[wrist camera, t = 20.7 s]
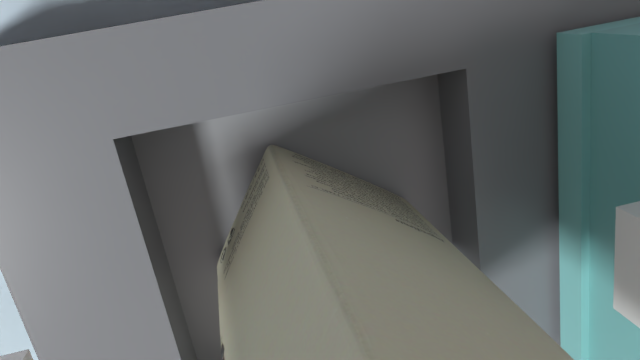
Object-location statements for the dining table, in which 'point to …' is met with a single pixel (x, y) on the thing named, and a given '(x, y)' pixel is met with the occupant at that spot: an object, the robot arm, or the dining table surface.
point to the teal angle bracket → (596, 181)
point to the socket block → (252, 141)
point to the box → (355, 278)
